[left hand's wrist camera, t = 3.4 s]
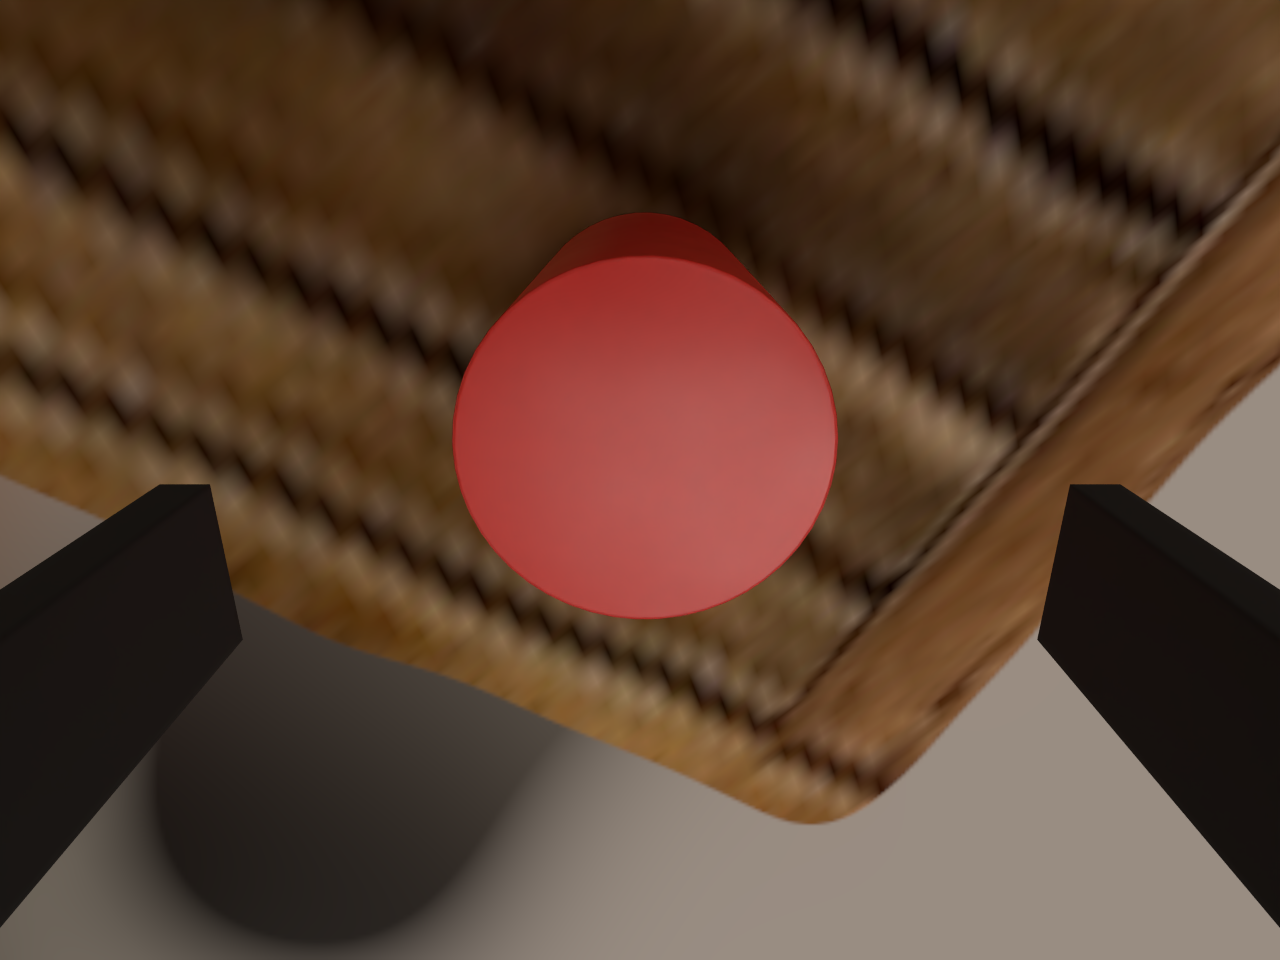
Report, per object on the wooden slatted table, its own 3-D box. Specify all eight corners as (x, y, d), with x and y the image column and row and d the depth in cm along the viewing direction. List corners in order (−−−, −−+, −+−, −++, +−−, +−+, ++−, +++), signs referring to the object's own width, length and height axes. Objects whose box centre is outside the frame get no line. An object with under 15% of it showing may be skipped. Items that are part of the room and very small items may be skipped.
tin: (694, 472, 29) (726, 670, 18) (496, 384, 28) (398, 537, 17) (799, 276, 27) (914, 364, 15) (586, 169, 26) (541, 180, 14)
